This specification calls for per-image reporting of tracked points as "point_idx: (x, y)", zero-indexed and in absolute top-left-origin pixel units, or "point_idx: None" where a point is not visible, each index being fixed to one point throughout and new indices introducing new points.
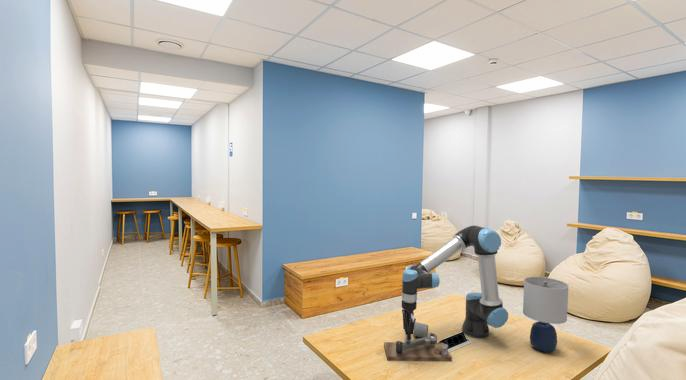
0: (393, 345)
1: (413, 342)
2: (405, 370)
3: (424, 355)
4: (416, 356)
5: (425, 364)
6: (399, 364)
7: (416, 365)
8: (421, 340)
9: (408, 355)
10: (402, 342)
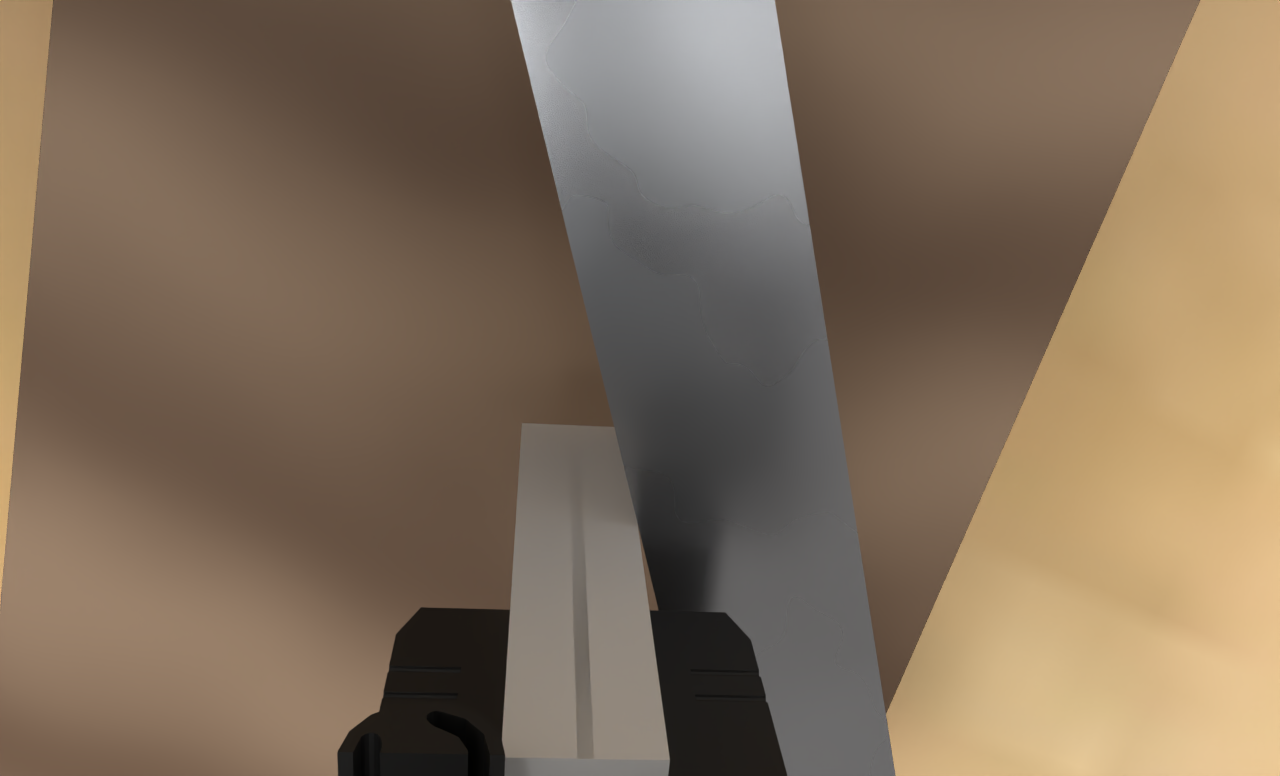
0: (211, 713)
1: (834, 490)
2: (1247, 719)
3: (1061, 46)
4: (1015, 339)
5: (1257, 143)
6: (980, 750)
7: (1186, 405)
8: (767, 16)
9: (876, 535)
10: (29, 390)
